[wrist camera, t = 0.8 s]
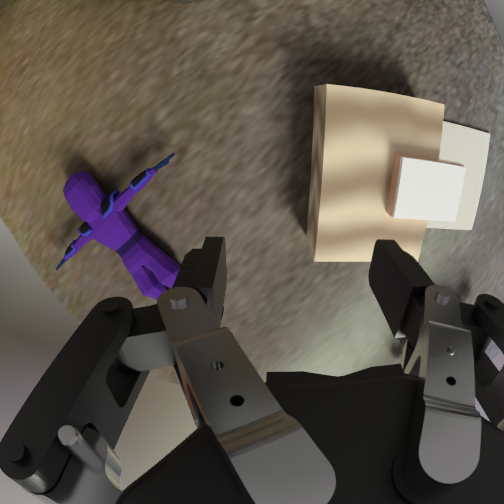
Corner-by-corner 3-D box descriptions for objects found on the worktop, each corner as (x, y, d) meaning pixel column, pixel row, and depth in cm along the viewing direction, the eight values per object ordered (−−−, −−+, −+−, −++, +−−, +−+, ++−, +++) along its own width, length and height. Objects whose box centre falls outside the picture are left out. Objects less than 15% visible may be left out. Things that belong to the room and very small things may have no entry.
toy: (280, 269, 46) (144, 104, 34) (283, 291, 41) (128, 107, 30) (156, 342, 54) (38, 224, 42) (149, 364, 49) (20, 239, 38)
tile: (394, 152, 30) (402, 156, 28) (457, 162, 30) (467, 166, 28) (386, 212, 33) (392, 218, 31) (447, 216, 33) (455, 222, 31)
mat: (427, 117, 34) (429, 118, 33) (488, 133, 33) (490, 133, 33) (412, 225, 41) (413, 227, 41) (470, 229, 41) (471, 230, 41)
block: (314, 86, 33) (326, 84, 27) (416, 100, 33) (444, 104, 26) (306, 235, 42) (314, 261, 36) (398, 237, 42) (417, 261, 36)
